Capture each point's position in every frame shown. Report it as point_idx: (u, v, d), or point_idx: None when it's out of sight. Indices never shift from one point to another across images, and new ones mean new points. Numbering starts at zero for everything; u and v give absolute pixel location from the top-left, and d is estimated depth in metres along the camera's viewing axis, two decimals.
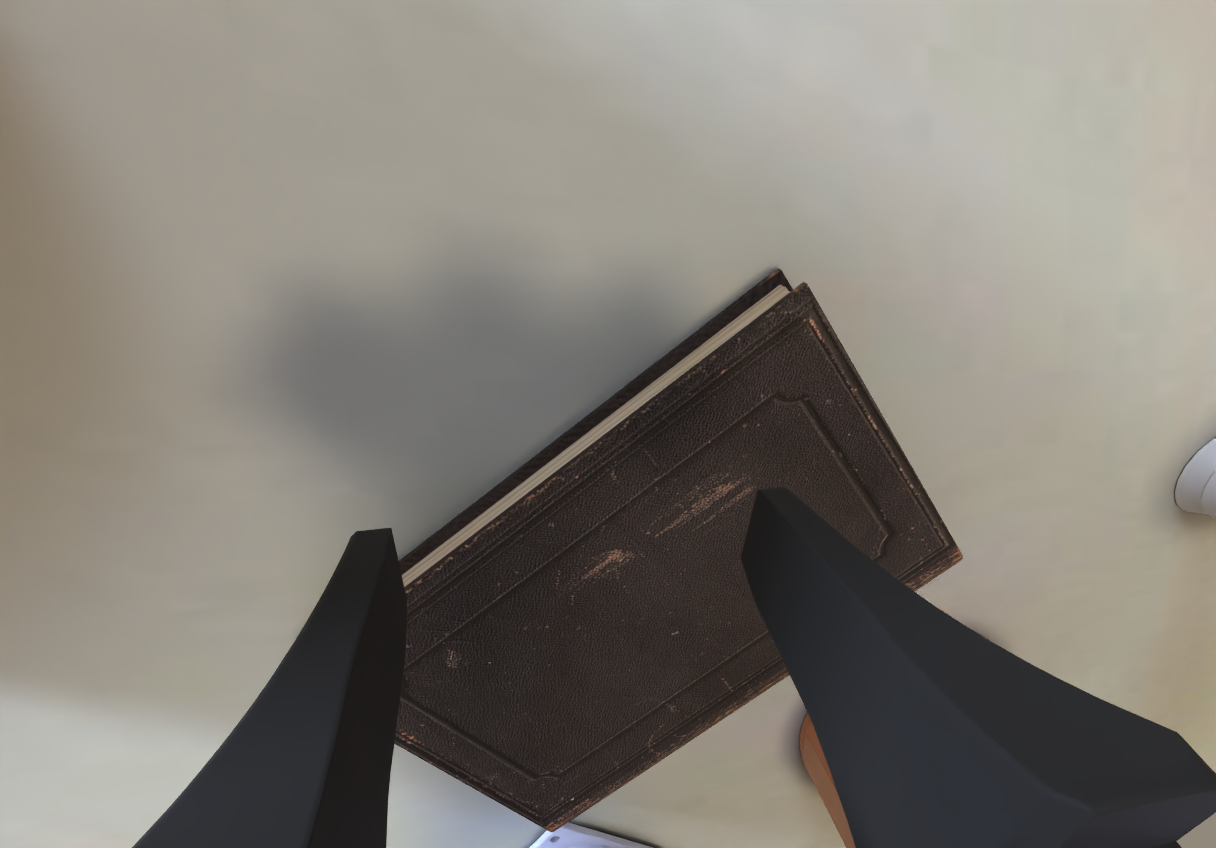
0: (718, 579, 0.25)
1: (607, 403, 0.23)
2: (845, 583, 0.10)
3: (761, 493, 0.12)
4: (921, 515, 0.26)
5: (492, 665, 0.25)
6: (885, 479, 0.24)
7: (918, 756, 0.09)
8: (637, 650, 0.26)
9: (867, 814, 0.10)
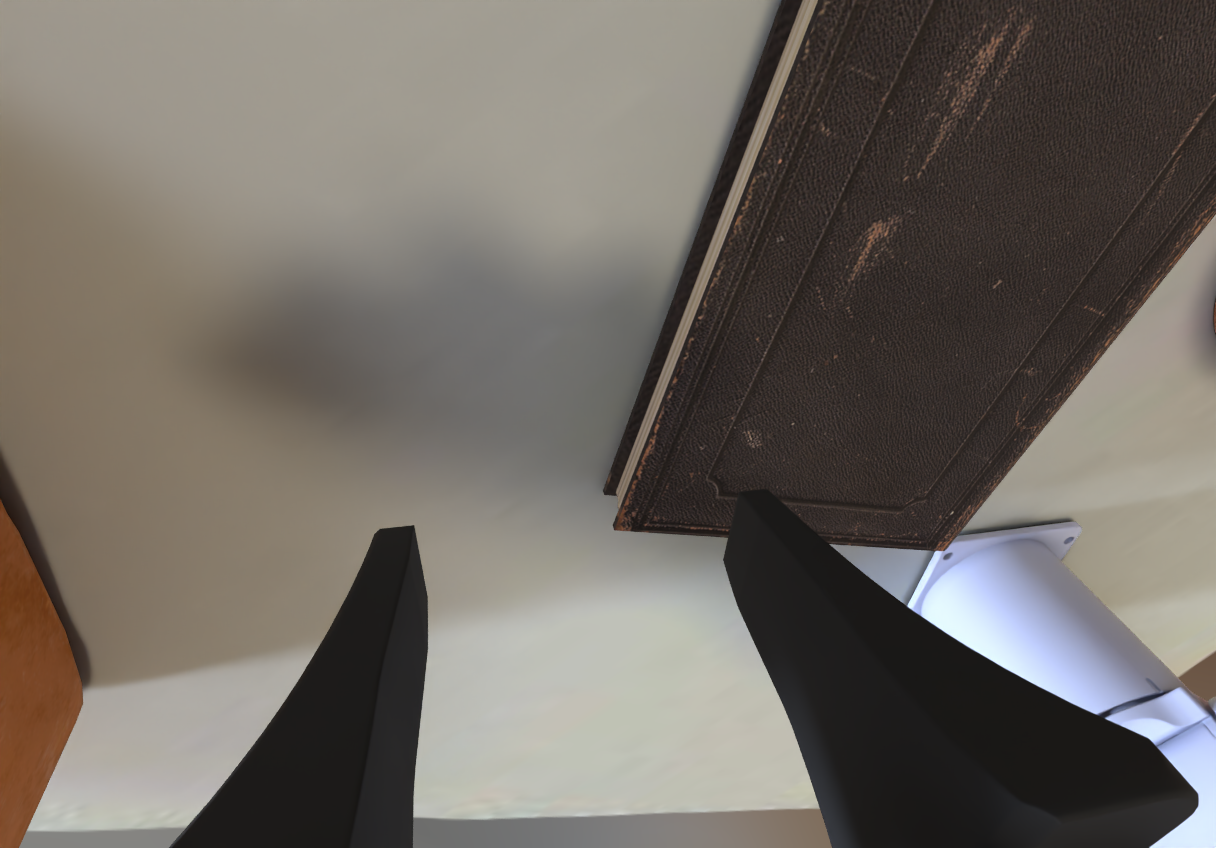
0: (1029, 184, 0.18)
1: (767, 49, 0.16)
2: (822, 586, 0.10)
3: (743, 495, 0.12)
4: None
5: (797, 424, 0.22)
6: None
7: (892, 761, 0.09)
8: (957, 328, 0.20)
9: (844, 819, 0.10)
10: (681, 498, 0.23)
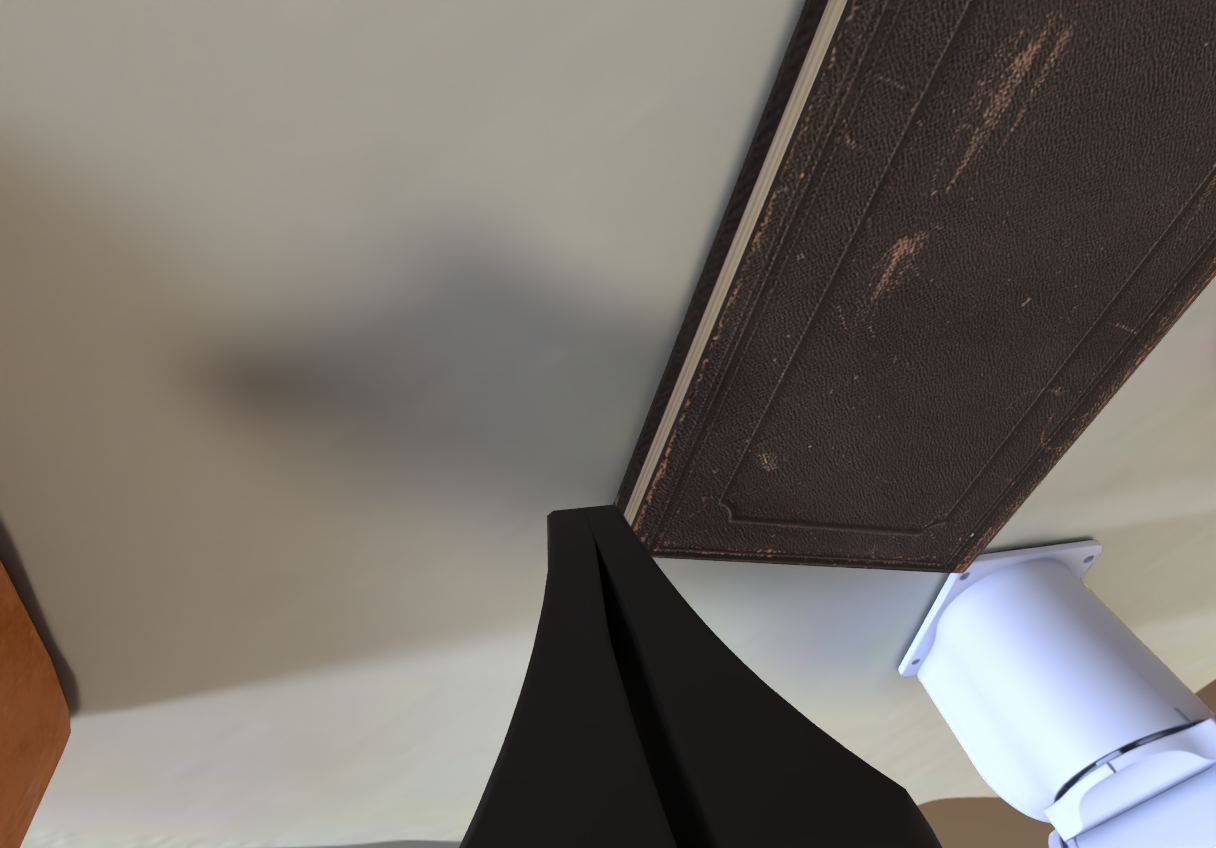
0: (1063, 198, 0.17)
1: (788, 56, 0.15)
2: (632, 612, 0.09)
3: (586, 511, 0.12)
4: None
5: (814, 447, 0.21)
6: None
7: (669, 805, 0.08)
8: (983, 347, 0.20)
9: None
10: (693, 522, 0.22)
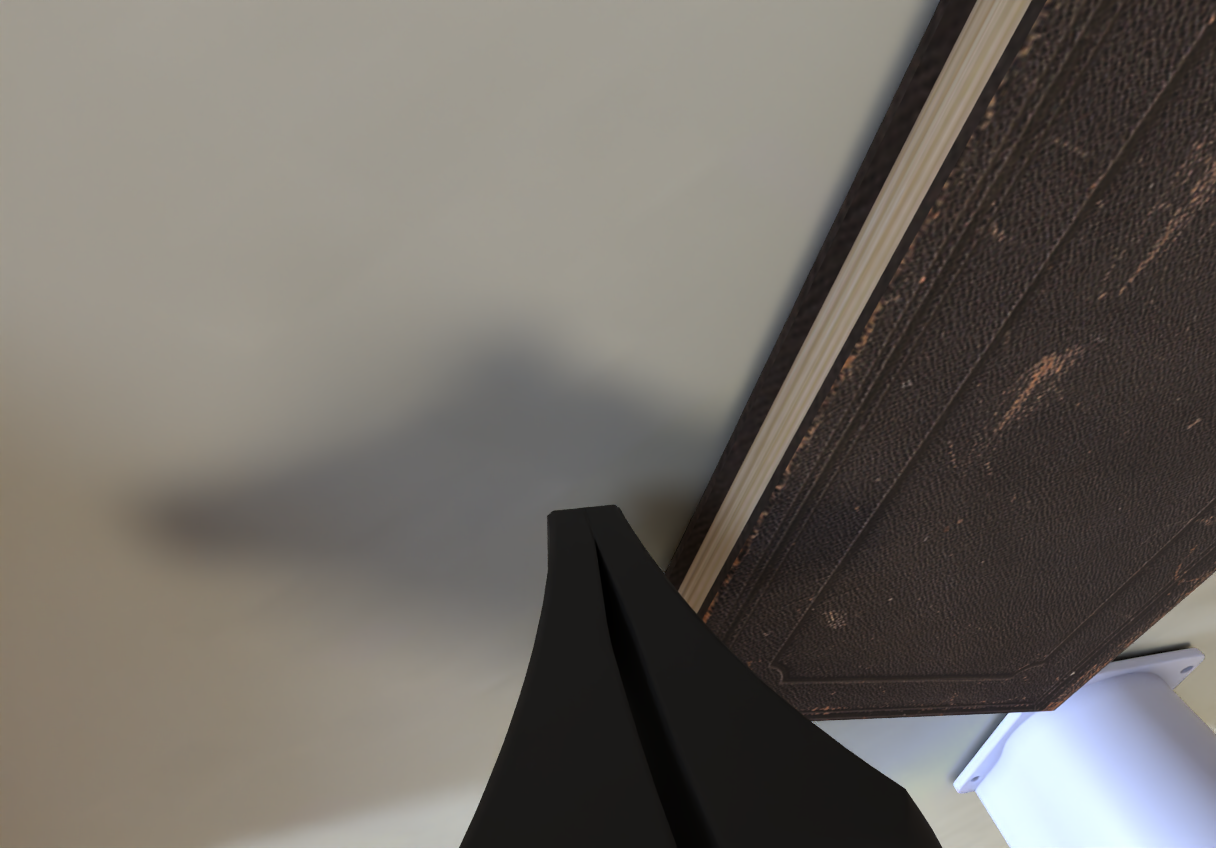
0: None
1: (899, 102, 0.10)
2: (632, 612, 0.09)
3: (586, 511, 0.12)
4: None
5: (896, 599, 0.16)
6: None
7: (669, 805, 0.08)
8: (1128, 478, 0.15)
9: None
10: None
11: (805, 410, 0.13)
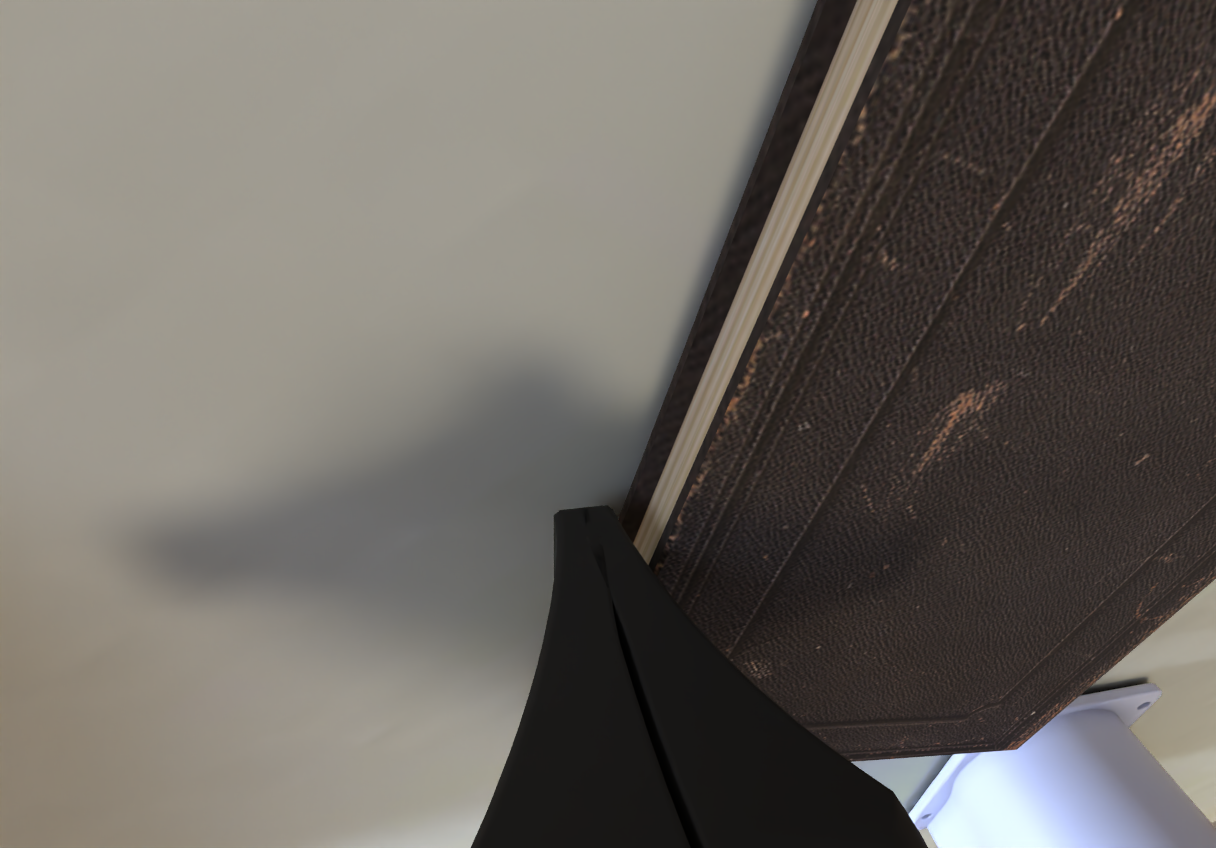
0: None
1: (782, 111, 0.09)
2: (622, 614, 0.09)
3: (578, 512, 0.12)
4: None
5: (825, 647, 0.14)
6: None
7: None
8: (1073, 518, 0.13)
9: None
10: None
11: None
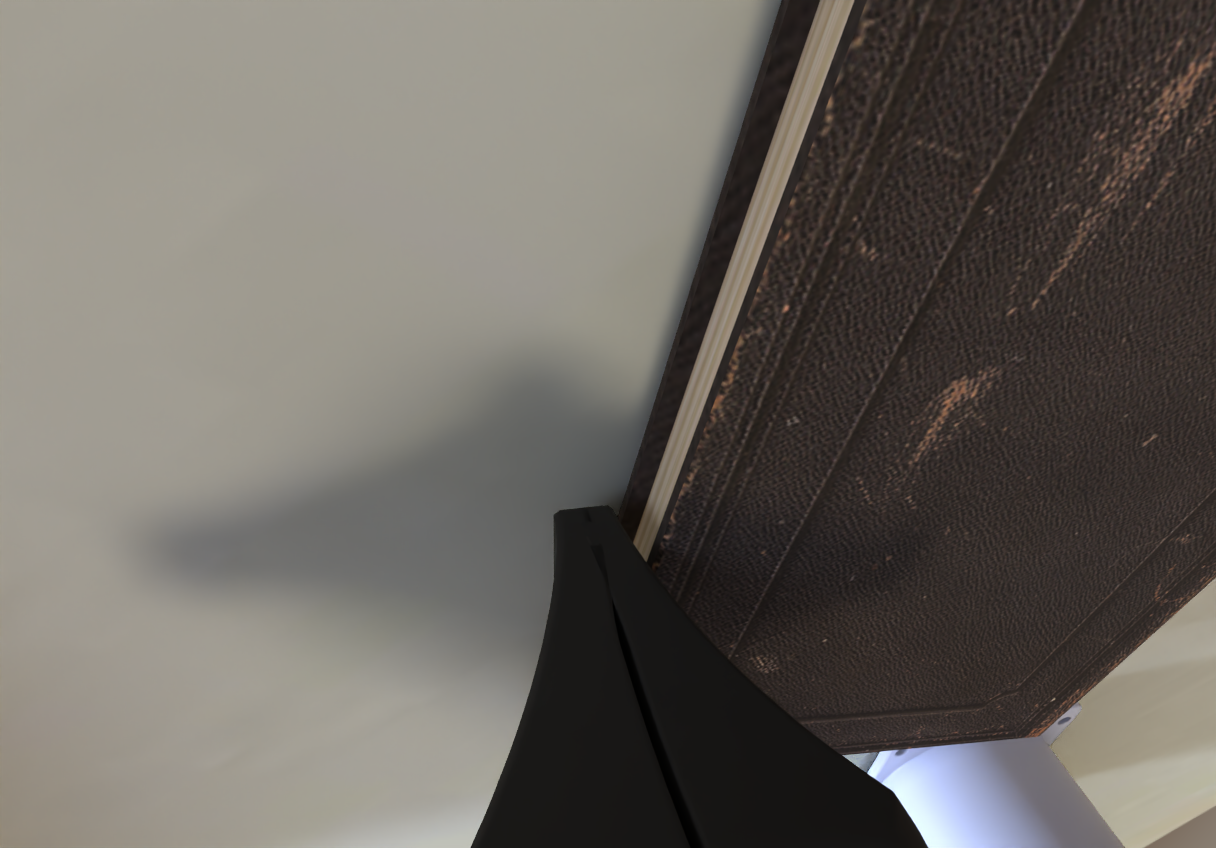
0: None
1: (755, 103, 0.09)
2: (623, 613, 0.09)
3: (578, 512, 0.12)
4: None
5: (831, 640, 0.14)
6: None
7: None
8: (1081, 502, 0.13)
9: None
10: None
11: None
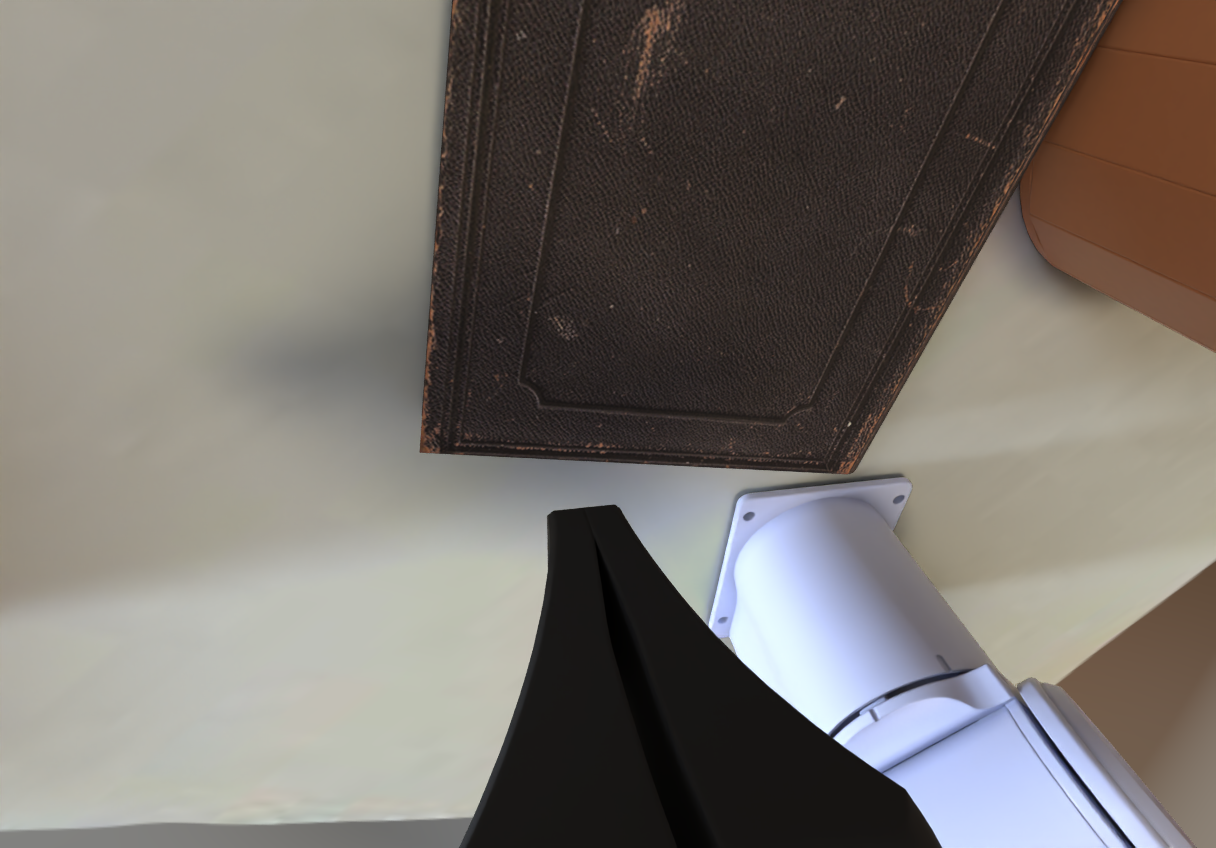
0: None
1: None
2: (632, 612, 0.09)
3: (586, 512, 0.12)
4: None
5: (618, 307, 0.18)
6: None
7: (669, 805, 0.08)
8: (800, 169, 0.16)
9: None
10: (493, 409, 0.19)
11: None
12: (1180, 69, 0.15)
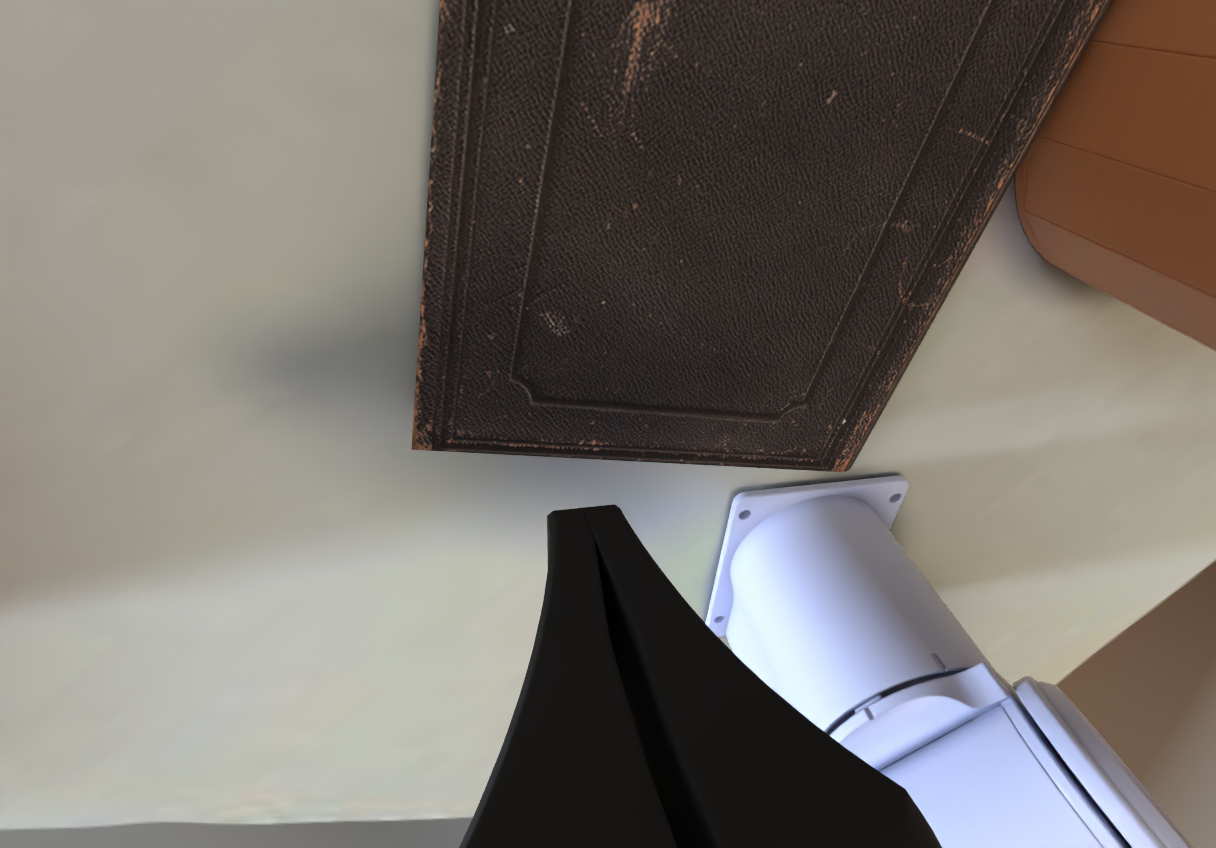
0: None
1: None
2: (632, 612, 0.09)
3: (586, 511, 0.12)
4: None
5: (609, 303, 0.17)
6: None
7: (669, 805, 0.08)
8: (791, 163, 0.16)
9: None
10: (485, 405, 0.19)
11: None
12: (1173, 62, 0.15)
